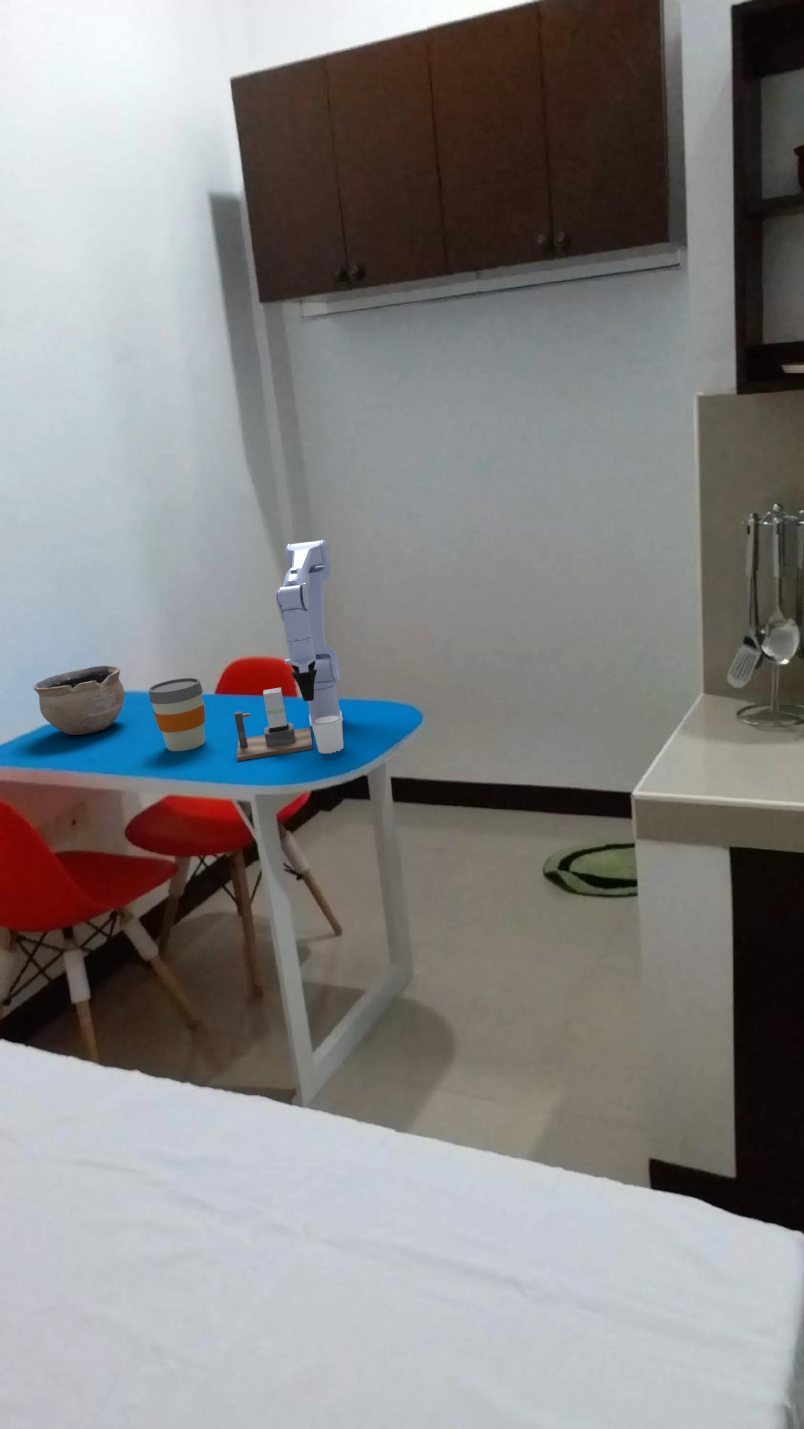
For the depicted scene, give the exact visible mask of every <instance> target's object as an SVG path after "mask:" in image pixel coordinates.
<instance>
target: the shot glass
mask: <svg viewBox="0 0 804 1429" xmlns="http://www.w3.org/2000/svg"><path fill="white" fill-rule="evenodd" d="M311 724H312V727H311V728H312V732H313V734H314V738H315V742H316V747H317V750H318V752H319V753H320V754H333V752H334V753H337V752H336V751H338V752H340V751H342V750H343V749H344V739H343V738H344V737H343V736H344V734H343V722H342V718H341V716H338V715H328V716H322V717H319V718H316V719H314V720H312V721H311ZM341 749H342V750H341Z"/></svg>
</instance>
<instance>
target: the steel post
mask: <svg viewBox="0 0 804 1429" xmlns="http://www.w3.org/2000/svg"><path fill="white" fill-rule="evenodd" d="M262 693H263V694H262V696H263V700H264V705H265V714H266V716H267V723H268V726H269V728H274V727H280V726H286V725H287V723H288V722H287V716H286V708H285V703H284V698H283V692H282V687H277V688H276V687H275V688H271V689H270V688H269V689H264V690H263V692H262Z"/></svg>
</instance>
